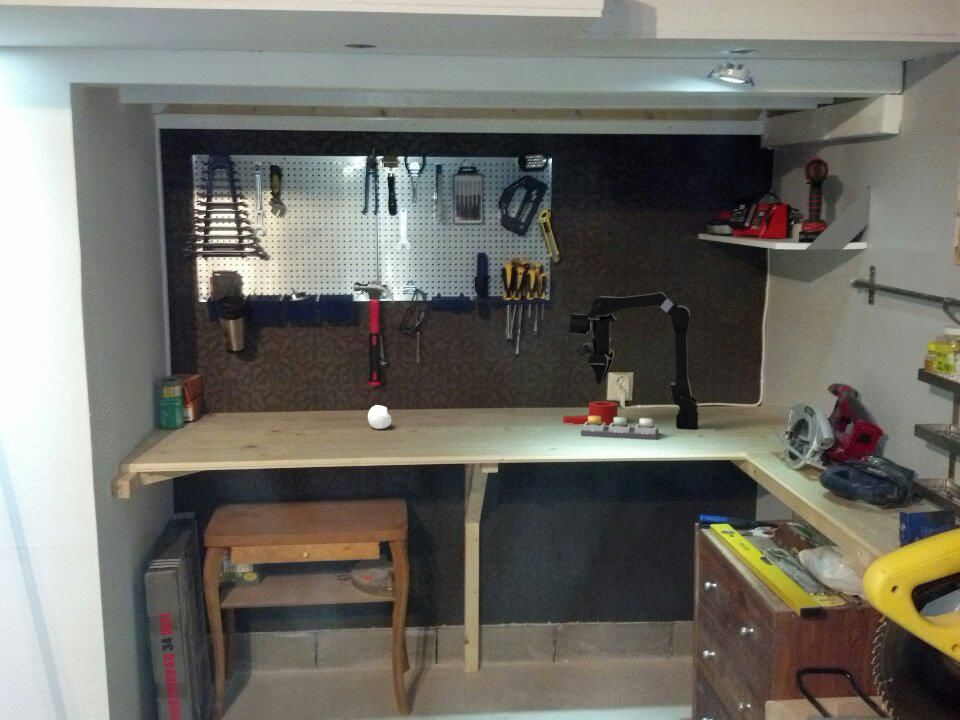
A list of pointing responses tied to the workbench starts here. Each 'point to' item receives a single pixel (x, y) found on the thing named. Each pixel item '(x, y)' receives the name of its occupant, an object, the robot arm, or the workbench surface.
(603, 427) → the control board
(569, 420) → the lever
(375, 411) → the white rounded piece
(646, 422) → the button white
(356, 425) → the workbench surface
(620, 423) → the button sage
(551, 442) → the workbench surface
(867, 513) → the workbench surface
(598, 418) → the button amber
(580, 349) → the robot arm
